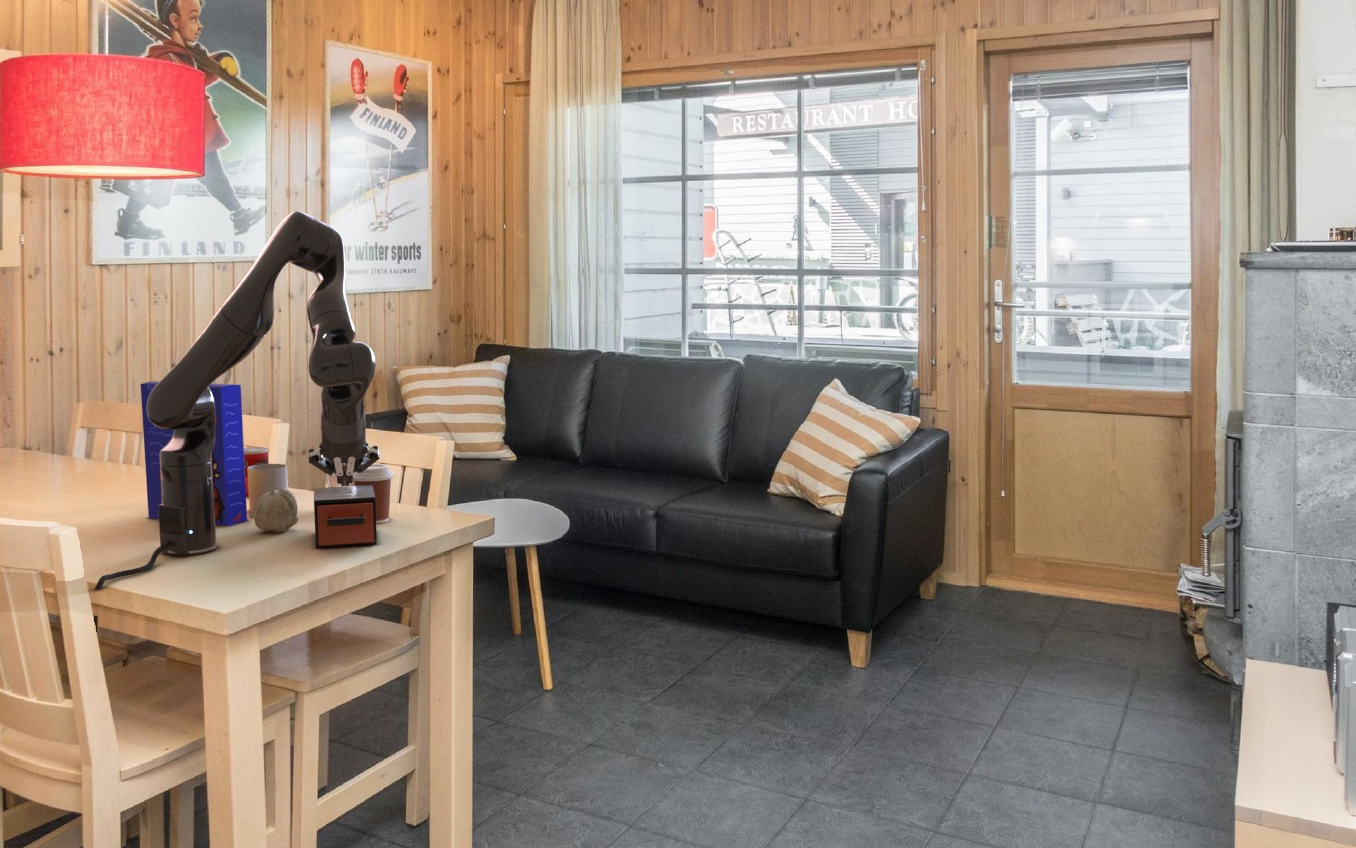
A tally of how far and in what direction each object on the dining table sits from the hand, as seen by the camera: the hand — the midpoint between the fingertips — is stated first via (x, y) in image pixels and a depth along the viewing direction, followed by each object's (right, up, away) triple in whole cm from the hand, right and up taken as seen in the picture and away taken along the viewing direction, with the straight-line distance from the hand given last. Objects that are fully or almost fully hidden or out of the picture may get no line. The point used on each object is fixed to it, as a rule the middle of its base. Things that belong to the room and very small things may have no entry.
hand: (344, 482), depth 212 cm
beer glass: (-15, -9, +47) cm, 50 cm away
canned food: (-42, -6, +65) cm, 78 cm away
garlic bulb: (-22, -12, +25) cm, 35 cm away
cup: (-31, -9, +46) cm, 56 cm away
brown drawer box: (-4, -12, +14) cm, 19 cm away
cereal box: (-43, -10, +36) cm, 57 cm away
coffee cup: (-4, -10, +35) cm, 37 cm away
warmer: (-5, -12, +18) cm, 22 cm away
